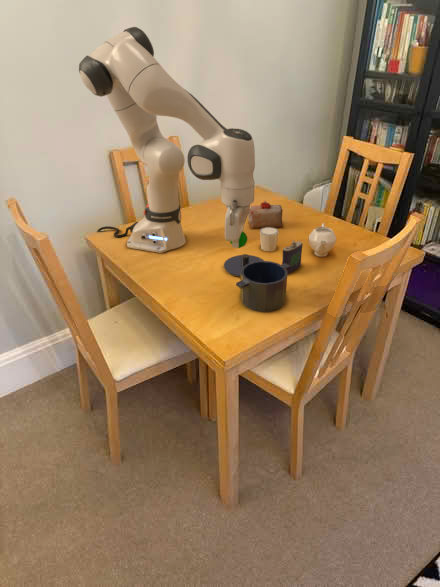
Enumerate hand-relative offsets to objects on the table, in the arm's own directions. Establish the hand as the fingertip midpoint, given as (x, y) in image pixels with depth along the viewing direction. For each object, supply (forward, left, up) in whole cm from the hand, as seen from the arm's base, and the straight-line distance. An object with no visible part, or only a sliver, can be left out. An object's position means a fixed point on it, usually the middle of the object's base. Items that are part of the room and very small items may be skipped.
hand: (237, 241), depth 119 cm
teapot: (+26, +32, -19) cm, 46 cm away
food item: (+4, +54, -19) cm, 58 cm away
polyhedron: (0, 0, -2) cm, 2 cm away
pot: (+8, 0, -19) cm, 21 cm away
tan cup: (+7, +34, -19) cm, 40 cm away
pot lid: (0, +19, -19) cm, 26 cm away
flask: (+16, +19, -19) cm, 32 cm away
